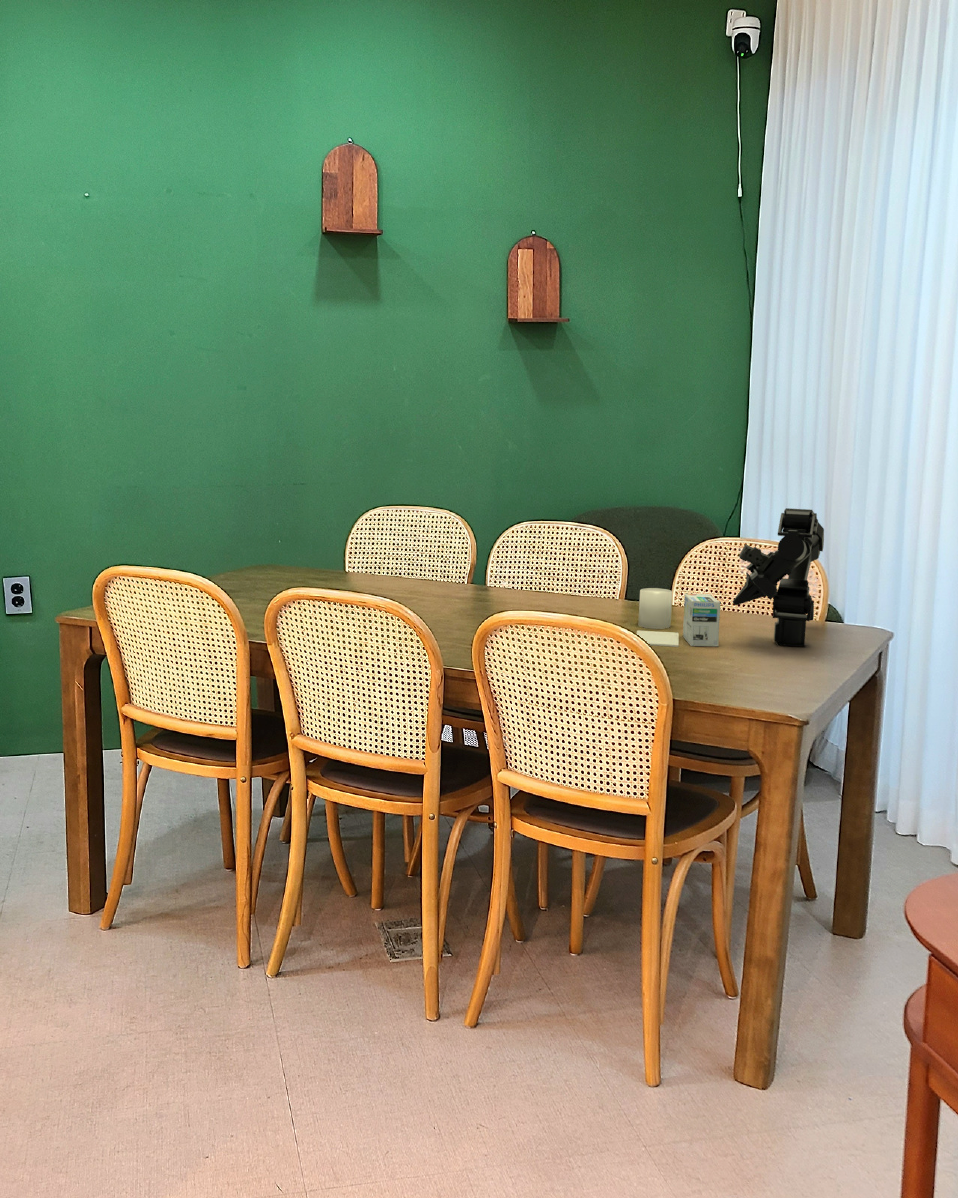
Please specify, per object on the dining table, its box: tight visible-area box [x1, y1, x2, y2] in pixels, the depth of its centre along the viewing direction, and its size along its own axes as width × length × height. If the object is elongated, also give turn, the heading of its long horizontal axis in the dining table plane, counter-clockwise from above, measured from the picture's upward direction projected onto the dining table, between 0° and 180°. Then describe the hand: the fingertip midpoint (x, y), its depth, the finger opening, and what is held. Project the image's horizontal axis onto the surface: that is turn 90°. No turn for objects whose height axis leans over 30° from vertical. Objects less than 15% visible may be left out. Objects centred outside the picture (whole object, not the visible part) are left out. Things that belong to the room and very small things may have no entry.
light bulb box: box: [682, 593, 721, 647], centre depth 259 cm, size 11×7×11 cm, turn 0°
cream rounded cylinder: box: [638, 587, 673, 630], centre depth 277 cm, size 8×8×9 cm
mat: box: [636, 630, 680, 648], centre depth 262 cm, size 10×14×1 cm
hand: (733, 603), depth 257 cm, fingers closed
